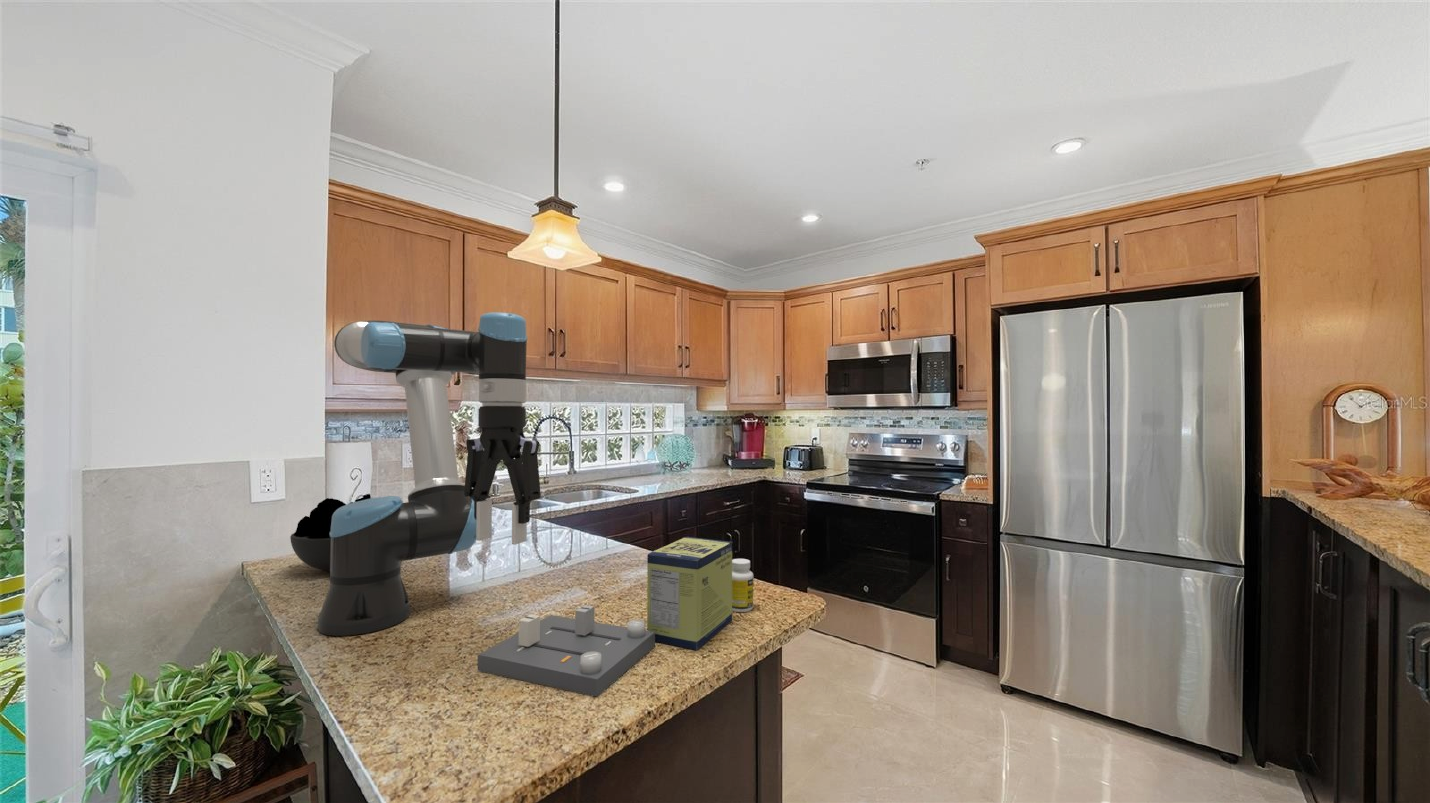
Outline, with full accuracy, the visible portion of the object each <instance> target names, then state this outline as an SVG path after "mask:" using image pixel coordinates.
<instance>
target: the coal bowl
mask: <svg viewBox="0 0 1430 803" xmlns="http://www.w3.org/2000/svg"><path fill="white" fill-rule="evenodd" d="M371 498H372V497H371V494H370V493H367V494H364V495H363V496H362V497H360V498H357V499H354V500H355V501H350V502H349V503H348V504H350V503H354V502H357V501H362V500H366V499H371ZM345 505H347V504H346V503H345V502H343V501H341V500H340V499H335V498H333V497H331V498H329V497H327V498H325V499H323V500H321V501H320V502H318V504H317V505H316V507H315V508H313V509H312V510H311V511H310V512H309V516H308V515H305V516H303V517H302V518H301V519H300V520H299V521H298V523H297V526H296V529H295V531H294V532H293V533H291V535H290V538H289V539H290V544H291V547H292V550H293V551H294V554H295V555H296V557H298V558H299V560H301V562H303V563H304V564H306V565H307V566H309V567H311V568H315V569H316V570H321V571H329V572H330V561H331V537H330V535H329V533H330V531H331V521H332V515H333V513H334V512H335V511H336V510H337V509H338V508H340V507H342V506H345Z"/></svg>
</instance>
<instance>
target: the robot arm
mask: <svg viewBox="0 0 1430 803" xmlns="http://www.w3.org/2000/svg"><path fill="white" fill-rule="evenodd" d="M478 323H479V325H478V328H477V331H472V330H471V331H470V330H464V329H463V330H460V329H451V328H450V329H449V328H447V327H446V328H445V327H441V326H435V325H433V324H426V325H425V324H415V323H405V322H397V321H386V320H378V319H377V320H375V319H372V320H360V321H354V322H351V323H348V324H345V325H344V326H343V327H341V328H340V329H339V330H338V331H337V333H336V335H335V337H334V341H333V343H334V344H333V346H334V347H333V348H334V351H335V353H336V354H337V356H338V358H340V359H341V360H342V361H343V362H344V363H345V364H347V365H349V366H352V367H353V368H357V369H361V370H364V371H369V372H376V373H391V374H395V381H396V383H397V384H398V385H399V386H401V387H402V388H404V392H405V402H406V403H405V404H406V411H407V420H408V431H409V441H410V450H411V459H412V460H411V461H412V462H411V463H412V469H413V470H412V471H413V480H414V488H413V489H412V490H411V491H410V492H409V493H408V495H407V501H408V502H403V500H402V498H401V497H400V496H396V495H388V496H379V497H371V499H366V500H362V501H357V502H355V501H353V502H354V503H350V502H349V503H350V504H349V503H347V504H346V505H345V506H342V507H340V508H338V509H337V510H336V511H335V512H334V513H333V515H332V521H331V531H330V533H329V535H330V537H331V561H330V571H329V572H330V573H329V588H328V590H327V592H326V595H325V599H324V601H323V604H322V606H321V610H320V613H319V614H318V618H317V631H318V632H319V633H321V634H323V635H327V636H333V637H334V636H335V637H336V636H338V637H340V636H346V637H347V636H355V635H362V634H368V633H373V632H377V631H381V630H384V629H388V628H391V627H393V626H396V625H398V624H400V623H401V622H404V621H405V620H406V619H408V618H409V617H410V616H411V601H410V599H409V596H408V593H407V590H406V587H405V584H404V582H403V579H402V574H401V568H402V567H401V566H402V565H401V564H402V562H404V561H411V560H417V559H422V558H428V557H434V556H440V555H446V554H447V555H452V554H454V553H457V552H462V551H467V550H469V549H470V548H471V547H473V545H474V544H475V543H476V541H478V542H480V541H483V540H488V539H491V538H492V536H493V535H492V534H493V533H492V532H493V530H492V527H493V524H492V520H493V519H492V517H493V514H492V513H493V512H492V511H493V509H492V508H493V500H492V499H491V497H492V495H490V492H491V488H492V485H493V482H494V478H495V474H496V471H497V469H498V465H499V464H500V463H501V461H502V463H503V465H504V466H505V467H506V469H507V473H508V477H509V479H510V480H509V481H510V484H511V487H512V491H513V495H514V498H515V499H514V500H515V501H513V503H512V504H511V545H515V546H516V545H519V544H521V543H525V542H527V537H528V536H527V533H528V531H527V530H528V527H527V526H528V523H529V522H530V518H531V514H530V513H531V504H532V502H534V501H537V500H539V499H541V483H540V470H539V458H538V453H539V448H540V441H539V440H537V439H536V440H535V439H533V440H532V439H527V438H526V436H525V434H524V428H525V427H526V425H527V421H526V420H527V419H526V418H527V417H526V416H527V409H526V408H525V406H523V404H525V403H526V402H527V344H528V343H527V341H528V335H527V322H526V319H525V318H524V317H523V316H521V315H518V314H517V313H516V314H515V313H510V312H509V313H508V312H487V313H483V314H482V315H481V316H480V317H479V322H478ZM456 373H465V374H468V375H478V402H479V403H480V404H482V406H479V408H478V417H477V418H478V421H477V422H478V423H477V424H478V427H479V428H480V429H481V432H480V435H479V437H478V438H472V439H471V438H469V439H467V440H466V441H465V445H466V446H465V447H466V451H467V457H466V460H467V461H466V466H465V467H466V469H465V479H464V483H463V482H461V480H459V471H458V464H457V463H458V462H457V457H456V455H457V454H456V448H455V442H454V432H453V426H452V417H451V412H450V411H451V410H450V404H449V396H448V387H447V385H448V384H449V383H450V382H451V380H452V379H453V375H455V374H456Z"/></svg>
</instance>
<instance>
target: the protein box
mask: <svg viewBox="0 0 1430 803" xmlns="http://www.w3.org/2000/svg"><path fill="white" fill-rule="evenodd" d="M732 560H733V541H727V540H719V539H710V538H699V537H692V536H685V537H682V538H681V539H678V540H675V541H674V542H671V543H670V544H667V545H665V546H661V547H660V548H658V549H655V550H653V551H651V552H649V553H647V560H646V561H647V564H646V565H647V572H646V573H647V574H646V576H647V582H646V584H647V587H646V588H647V589H646V590H647V594H646V595H647V598H646V599H647V600H646V601H647V602H646V604H647V606H646V607H647V608H646V609H647V610H646V615H647V616H646V617H647V618H646V620H647V621H646V622H647V624H646V625H647V626H646V628H647V629H646V631H652V632H655V643H656V642H657V643H661V644H666V645H671V646H675V647H680V648H683V649H684V648H685V649H690V650H694V651H698V650H699V649H700V648H702V647H703V646H704V645H706V644H707V642H709V641H710V640H711V639H713V637H715V636H716V635H717V634H718V633H719V632H720V631H721V630H723V629H724V628H725V627H726V626H728V625H729V624H730V623H731V622H732V621H733V611H732Z"/></svg>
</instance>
